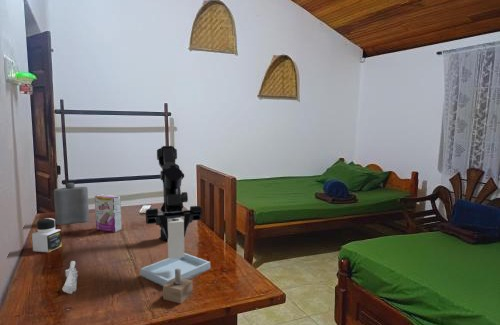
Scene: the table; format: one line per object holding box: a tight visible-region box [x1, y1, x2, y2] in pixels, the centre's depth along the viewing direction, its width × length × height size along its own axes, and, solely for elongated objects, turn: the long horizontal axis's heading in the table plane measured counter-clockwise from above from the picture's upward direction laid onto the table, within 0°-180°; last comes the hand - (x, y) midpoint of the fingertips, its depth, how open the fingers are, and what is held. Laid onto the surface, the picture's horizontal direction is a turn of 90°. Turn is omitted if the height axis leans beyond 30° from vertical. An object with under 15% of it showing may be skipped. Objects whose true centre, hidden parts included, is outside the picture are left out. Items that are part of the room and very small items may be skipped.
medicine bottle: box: [31, 217, 62, 253], centre depth 133 cm, size 7×7×12 cm
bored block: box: [167, 217, 185, 259], centre depth 111 cm, size 5×5×12 cm
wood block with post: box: [162, 269, 194, 304], centre depth 96 cm, size 6×6×8 cm
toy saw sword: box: [61, 260, 79, 295], centre depth 107 cm, size 3×4×22 cm
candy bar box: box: [94, 193, 123, 233], centre depth 157 cm, size 11×5×16 cm, turn 71°
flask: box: [53, 182, 90, 226], centre depth 169 cm, size 15×6×20 cm, turn 121°
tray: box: [140, 252, 211, 287], centre depth 112 cm, size 18×14×2 cm
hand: (176, 237), depth 110 cm, fingers closed on bored block, 5 cm apart
